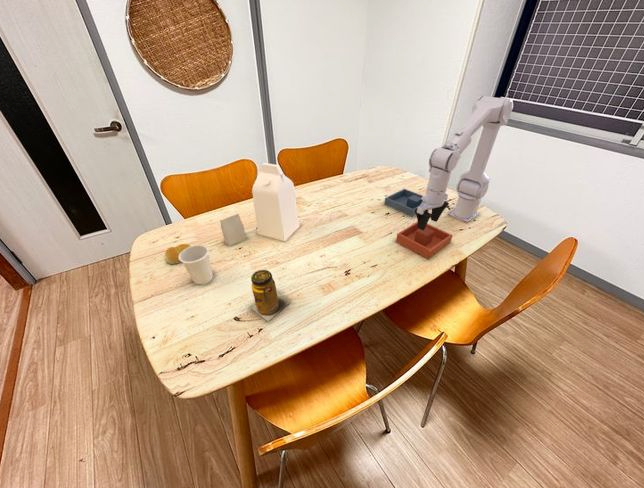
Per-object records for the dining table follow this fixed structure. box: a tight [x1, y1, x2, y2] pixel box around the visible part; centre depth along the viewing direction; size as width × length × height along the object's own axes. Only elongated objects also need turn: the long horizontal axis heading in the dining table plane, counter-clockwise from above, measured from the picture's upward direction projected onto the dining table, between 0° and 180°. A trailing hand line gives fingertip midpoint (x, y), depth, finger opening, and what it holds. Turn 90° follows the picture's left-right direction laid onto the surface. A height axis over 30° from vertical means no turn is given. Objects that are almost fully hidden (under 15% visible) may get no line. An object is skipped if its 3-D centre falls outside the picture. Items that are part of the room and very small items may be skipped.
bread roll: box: [164, 243, 191, 264], centre depth 95 cm, size 8×9×4 cm
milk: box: [251, 162, 301, 242], centre depth 100 cm, size 12×12×26 cm
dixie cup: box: [179, 244, 214, 285], centre depth 84 cm, size 8×8×10 cm
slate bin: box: [383, 188, 424, 218], centre depth 120 cm, size 14×15×4 cm
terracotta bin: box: [395, 221, 454, 260], centre depth 99 cm, size 14×14×4 cm
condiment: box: [250, 269, 291, 322], centre depth 74 cm, size 7×8×12 cm
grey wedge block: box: [220, 213, 247, 247], centre depth 100 cm, size 4×7×10 cm, turn 131°
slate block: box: [406, 195, 422, 209], centre depth 117 cm, size 4×4×4 cm
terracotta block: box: [414, 228, 434, 246], centre depth 98 cm, size 4×4×4 cm
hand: (427, 224), depth 95 cm, fingers open, 7 cm apart
